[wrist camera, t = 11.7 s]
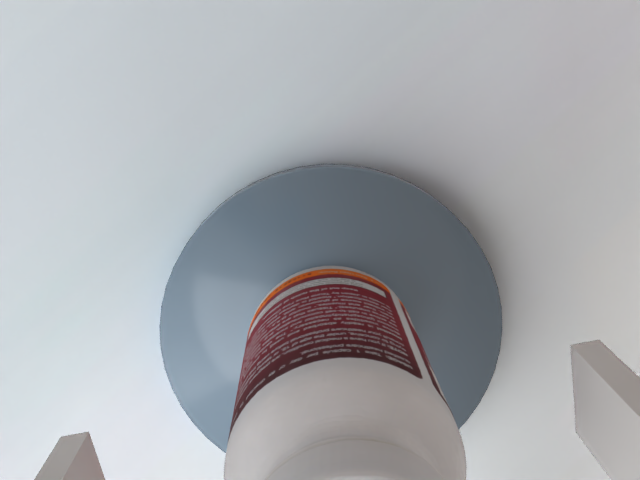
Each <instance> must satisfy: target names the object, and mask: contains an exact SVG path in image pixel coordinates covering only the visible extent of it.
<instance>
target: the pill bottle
mask: <svg viewBox="0 0 640 480" xmlns="http://www.w3.org/2000/svg"><path fill="white" fill-rule="evenodd" d="M224 480H466V457H465V451H464V446H463V442H462V438H461V435H460V432H459V430H458V427H457V425H456V422H455V419H454V417H453V414H452V412H451V410H450V408H449V405H448V403H447V401H446V399H445V397H444V394H443V392H442V390H441V387H440V385H439V383H438V381H437V379H436V376H435V374H434V371H433V369H432V367H431V365H430V362H429V360H428V358H427V355H426V353H425V351H424V348H423V346H422V344H421V341H420V339H419V337H418V335H417V332H416V330H415V328H414V326H413V324H412V321H411V319H410V316H409V314H408V312H407V310H406V309H405V307H404V305H403V304H402V302H401V301H400V299H399V298H398V297H397V296H396V294H395V293H394V292H393V291H392V290H391V289H390V288H389V287H388V286H387V285H386V284H384V283H383V282H382V281H380V280H379V279H377V278H375V277H374V276H372V275H370V274H367V273H365V272H362V271H360V270H357V269H353V268H349V267H343V266H320V267H314V268H310V269H306V270H303V271H300V272H297V273H295V274H293V275H291V276H289V277H288V278H286V279H284V280H283V281H281V282H280V283H279V284H277V285H276V286H275V287H274V288H273V289H272V290H271V291H270V292H269V293H268V294H267V295H266V296H265V297H264V299H263V300H262V301H261V303H260V304H259V306H258V308H257V310H256V312H255V314H254V316H253V319H252V322H251V325H250V328H249V331H248V336H247V342H246V347H245V353H244V357H243V362H242V369H241V374H240V379H239V384H238V390H237V395H236V401H235V406H234V412H233V417H232V422H231V427H230V433H229V438H228V444H227V451H226V457H225V466H224Z"/></svg>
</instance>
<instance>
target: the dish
mask: <svg viewBox="0 0 640 480" xmlns="http://www.w3.org/2000/svg"><path fill="white" fill-rule="evenodd" d="M320 266H343V267H349V268H353V269H357V270H360V271H362V272H365V273H367V274H370V275H372V276H374V277H375V278H377V279H379V280H380V281H382V282H383V283H384V284H386V285H387V286H388V287H389V288H390V289H391V290H392V291H393V292H394V293H395V294H396V296H397V297H398V298H399V299H400V301H401V302H402V304H403V305H404V307H405V309H406V310H407V312H408V314H409V316H410V319H411V321H412V324H413V326H414V328H415V330H416V332H417V335H418V337H419V339H420V341H421V344H422V346H423V348H424V351H425V353H426V355H427V358H428V360H429V362H430V365H431V367H432V369H433V371H434V374H435V376H436V379H437V381H438V383H439V385H440V387H441V390H442V392H443V394H444V397H445V399H446V401H447V403H448V405H449V408H450V410H451V412H452V414H453V417H454V419H455V422H456V425H457V427H458V429H459V428H460V427H461V426H462V425H463V424H464V423H465V422H466V421H467V419H468V418H469V417H470V415H471V414H472V413H473V411H474V410H475V409H476V407H477V406H478V404H479V402H480V401H481V399H482V397H483V395H484V393H485V392H486V390H487V388H488V386H489V383H490V381H491V378H492V376H493V373H494V370H495V367H496V363H497V359H498V355H499V351H500V344H501V335H502V312H501V304H500V298H499V292H498V287H497V284H496V281H495V278H494V275H493V272H492V269H491V267H490V265H489V263H488V261H487V259H486V257H485V255H484V253H483V251H482V249H481V248H480V246H479V245H478V243H477V242H476V240H475V239H474V237H473V236H472V235H471V233H470V232H469V230H468V229H467V228H466V227H465V226H464V225H463V224H462V223H461V222H460V221H459V220H458V219H457V218H456V216H455V215H454V214H453V213H451V212H450V211H449V210H448V209H447V208H446V207H445V206H444V205H442V204H441V203H440V202H439V201H438V200H436V199H435V198H434V197H433V196H431V195H430V194H429V193H427V192H425V191H424V190H422V189H420V188H419V187H417V186H416V185H414V184H412V183H411V182H408V181H406V180H404V179H401V178H399V177H397V176H394V175H392V174H390V173H386V172H382V171H379V170H375V169H372V168H368V167H361V166H354V165H347V164H319V165H310V166H302V167H297V168H293V169H289V170H285V171H281V172H278V173H275V174H273V175H270V176H268V177H265V178H263V179H260V180H258V181H256V182H254V183H252V184H250V185H248V186H247V187H245V188H243V189H241V190H240V191H238V192H236V193H235V194H234V195H232V196H231V197H230V198H228V199H227V200H226V201H224V202H223V203H222V204H220V205H219V206H218V207H217V208H216V209H215V210H214V211H213V212H212V213H211V214H210V215H209V216H208V217H207V218H206V219H205V220H204V221H203V222H202V224H201V225H200V226H199V228H198V229H197V230H196V232H195V233H194V234H193V236H192V237H191V238H190V240H189V241H188V243H187V244H186V246H185V247H184V249H183V251H182V253H181V254H180V256H179V258H178V260H177V262H176V263H175V265H174V267H173V270H172V272H171V275H170V278H169V280H168V283H167V285H166V289H165V293H164V298H163V302H162V306H161V317H160V343H161V352H162V357H163V362H164V366H165V370H166V373H167V376H168V379H169V382H170V384H171V387H172V389H173V391H174V393H175V395H176V397H177V399H178V401H179V403H180V405H181V406H182V408H183V409H184V411H185V412H186V414H187V415H188V416H189V418H190V419H191V421H192V422H193V423H194V424H195V425H196V427H197V428H198V429H199V430H200V431H201V432H202V433H203V434H204V435H205V436H206V437H207V438H208V439H209V440H210V441H211V442H213V443H214V444H215V445H216V446H217V447H218V448H220V449H221V450H222V451H224V452H225V453H226V451H227V444H228V438H229V433H230V427H231V422H232V417H233V412H234V406H235V401H236V395H237V390H238V384H239V379H240V374H241V369H242V362H243V357H244V353H245V347H246V342H247V336H248V331H249V328H250V325H251V322H252V319H253V316H254V314H255V312H256V310H257V308H258V306H259V304H260V303H261V301H262V300H263V299H264V297H265V296H266V295H267V294H268V293H269V292H270V291H271V290H272V289H273V288H274V287H275V286H276V285H277V284H279V283H280V282H281V281H283V280H284V279H286V278H288V277H289V276H291V275H293V274H295V273H297V272H300V271H303V270H306V269H310V268H314V267H320Z"/></svg>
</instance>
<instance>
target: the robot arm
mask: <svg viewBox="0 0 640 480" xmlns="http://www.w3.org/2000/svg"><path fill="white" fill-rule="evenodd" d="M571 361H572V377H573V393H574V409H575V425H576V433H577V435H578V436H579V437H580V439H581V440H582V441H583V443H584V444H585V445H586V447H587V448H588V449H589V451H590V452H591V453H592V455H593V456H594V457H595V459H596V460H597V461H598V463H599V464H600V465H601V467H602V468H603V469H604V471H605V472H606V473H607V475H608V476H609V477H610V479H611V480H640V378H639V377H638V376H637V375H636V374H635V373H634V372H633V371H632V370H631V369H630V368H629V367H628V366H627V365H626V364H624V363H623V362H622V361H621V360H620V359H619V358H618V357H617V356H616V355H615V354H614V353H613V352H612V351H610V350H609V349H608V348H607V347H606V346H605V345H604V344H603V343H602V342H601V341H600V340H595V341H590V342H584V343H579V344H573V345H571ZM34 480H105V478H104V475H103V472H102V469H101V466H100V463H99V460H98V457H97V454H96V452H95V449H94V446H93V443H92V440H91V437H90V434H89V432H85V433H79V434H74V435H68V436H63V437H61V438H60V439H59V441H58V442H57V444H56V446H55V447H54V449H53V450H52V452H51V454H50V455H49V457H48V459H47V460H46V462H45V463H44V465H43V467H42V468H41V470H40V471H39V473H38V475H37V476H36V478H35V479H34Z"/></svg>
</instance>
